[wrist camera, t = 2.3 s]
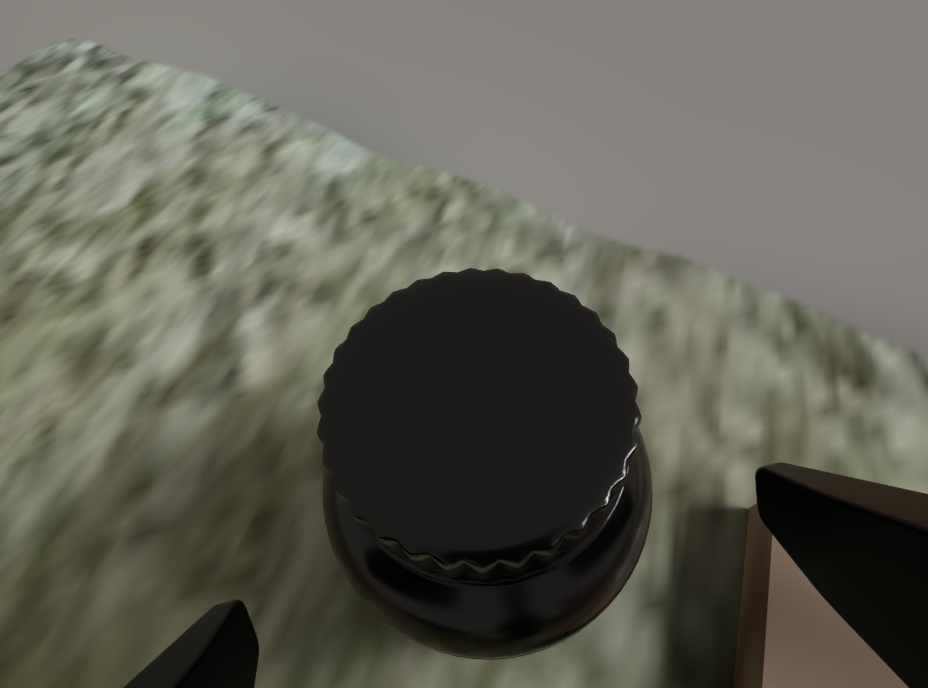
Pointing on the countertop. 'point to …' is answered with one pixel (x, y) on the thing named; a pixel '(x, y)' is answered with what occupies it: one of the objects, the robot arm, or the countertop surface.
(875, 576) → the robot arm
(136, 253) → the countertop surface
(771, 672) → the notched shelf board
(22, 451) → the countertop surface
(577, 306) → the supplement bottle
